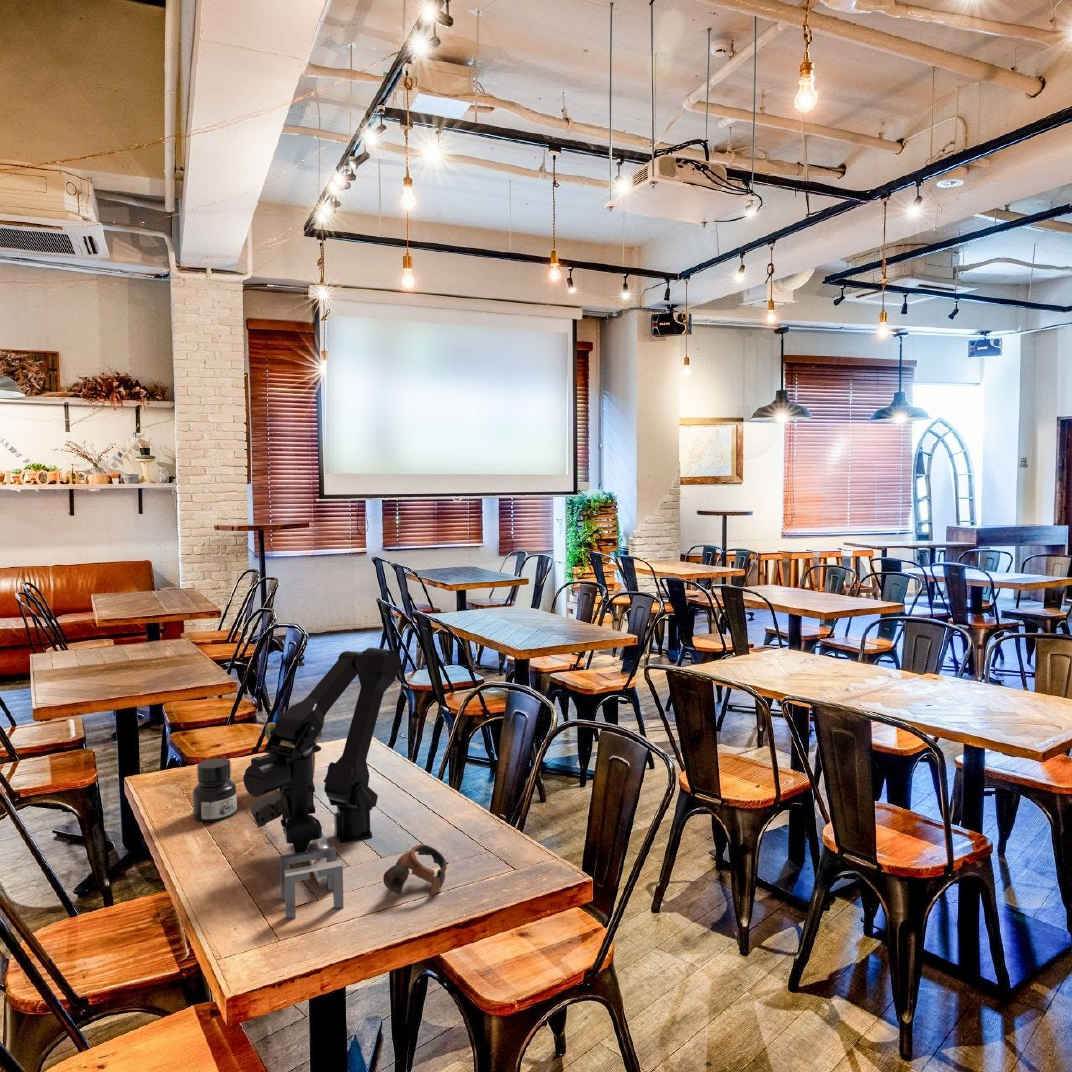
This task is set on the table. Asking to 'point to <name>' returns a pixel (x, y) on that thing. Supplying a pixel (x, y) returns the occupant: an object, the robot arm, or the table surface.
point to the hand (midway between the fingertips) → (299, 859)
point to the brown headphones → (416, 870)
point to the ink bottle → (214, 792)
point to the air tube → (317, 845)
